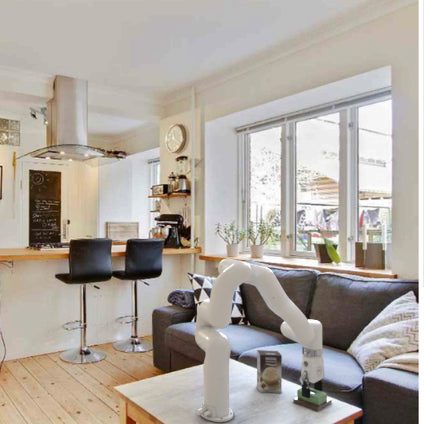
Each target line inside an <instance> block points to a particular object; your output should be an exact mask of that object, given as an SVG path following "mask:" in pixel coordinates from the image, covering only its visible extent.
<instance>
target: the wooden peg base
mask: <svg viewBox="0 0 424 424" xmlns="http://www.w3.org/2000/svg"><path fill="white" fill-rule="evenodd" d="M310 393H312V394H315V393H314V392H310ZM293 403H294V404H297V405H299V406H302V407H304V408H307V409H309V410H312V411H315V412H320V411H321V410H323V409H325V408H326V407H328V406H330V405H331V404H332V399H331V398H328V397H327V401H326V402H324V403H322V404H320V405H317V404H314V403H311V402H309V401H306V400H303V399H300V398H298V397H297V396H296V397H294V398H293Z"/></svg>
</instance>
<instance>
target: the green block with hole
mask: <svg viewBox="0 0 424 424" xmlns="http://www.w3.org/2000/svg"><path fill="white" fill-rule="evenodd" d="M309 388H310V392H314V393H315V394H312V393H310V398H306V397H303V396H302V387H301V388H299V389H297V392H296V394H297V395H296V397H298V398H300V399H303V400H306V401H309V402H311V403H314V404H317V405H320V404H322V403H324V402H326V401H327V398H328V393H327V392H325V391H319V390H316V389H314V387H310V386H309Z"/></svg>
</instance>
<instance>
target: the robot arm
mask: <svg viewBox="0 0 424 424" xmlns="http://www.w3.org/2000/svg"><path fill="white" fill-rule="evenodd" d="M217 272H218V274H219V275H217V277H216V278H215V279H214V281H213V283H212V286H211V290H210V295H209V298H207V299H203V301H202V302H201V303H200V304H199V306H198V308H197V313H196V321H195V322H196V323H195V328H194V339H195V340H194V341H195V343H196V345H197V346H198V347H199V348H200V349H201V350H202V351H203V352H205V355H204V356H205V357H204V361H203V366H202V367H203V369H202V370H203V403H202V404H201V407H200V408H198V409H196V410H195V415H196V416H201V417H202V418H203V419H204V420H207V421H210V422H215V423H225V422H229V421H231V420H232V419H233V418H234V410H233V409H231V407H230V358H231V352H232V345H231V341H230V339H229V338H228V337H227V336H226V335H225V334H224V333H223V332H222V331H220V330H224V329H226V328H228V326H230V323H231V320H232V311H233V310H232V309H233V302H234V296H235V292H236V290H237V289H238V288H239V287H240V286H241V285H242V284H247V285H251V286H254V287H255V288H256V289H257V291H258V292H259V294H260V296H261V297H262V299H263V301H264V302H265V304H266V306H267V307H268V309H270V310H271V311H272V312H273V314H275V315H277V316H278V317H280V319H282V320H283V322H282V323H281V324H280V332H281V334H282V335H283V336H284V337H286V338H287V339H289V340H291V341H293V342H296V343H297V344H299V345H301V356H302V357H301V367H300V369H301V370H300V371H301V375H300V377H299V383H300V384H299V385H300V387H301V388H302V396H303V397H306V398H310V388H311V387H310V385H311V384H313V389H316V390H319V391H322V392H324V390H323V388H324V386H323V385H324V384H323V381H324V378H325V363H324V356H323V324H322V322H321V321H319V320H316V319H308V318H307V317H306V315H305V313H303V312H302V311H301V309H299V307H298V306H297V305H296V304H295V303H294V302H293V301H292V300H291V298H289V296H288V294H286V292H285V290H284V288H283V286H282V285H281V283H280V282H279V280H278V278H277V276H276V275H275V273H274V272H273V270H271V269H270V268H269V267H267V266H263V265H259V264H254V263H250V262H245V261H242V260H239V259H235V258H229V257H227V258H224V259H222V260H221V261H219V263H218V265H217ZM309 387H310V388H309Z"/></svg>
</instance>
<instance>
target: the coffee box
mask: <svg viewBox="0 0 424 424" xmlns="http://www.w3.org/2000/svg"><path fill="white" fill-rule="evenodd" d="M256 351H257V353H256V355H257V357H256V387H257V389H258V391H259V392H260V393H272V394H273V393H274V394H275V393H276V394H282V389H283V388H282V380H283V379H282V376H283V374H282V372H283V370H282V369H283V368H282V367H283V362H282V360H283V359H282V354H281V352H279V351H278V350H261V349H257V350H256Z"/></svg>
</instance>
